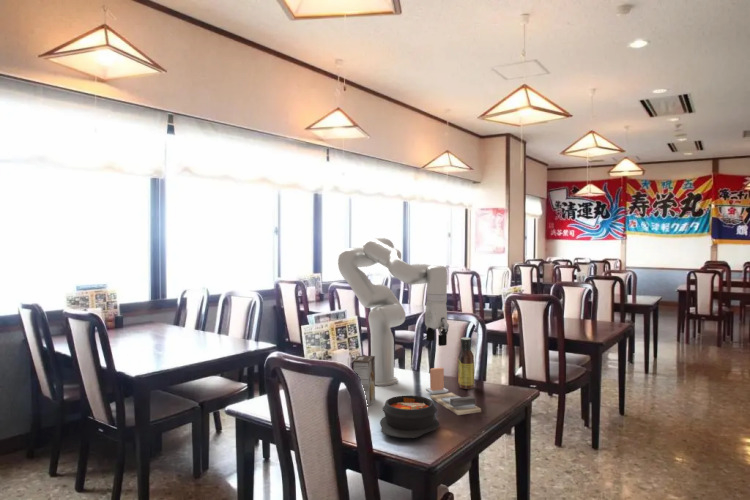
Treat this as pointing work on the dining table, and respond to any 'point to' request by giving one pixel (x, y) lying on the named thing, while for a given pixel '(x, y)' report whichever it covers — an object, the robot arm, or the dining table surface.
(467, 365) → the sauce bottle
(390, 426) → the casserole
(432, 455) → the dining table surface
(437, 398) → the ticket board
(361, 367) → the coffee box
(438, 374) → the tan and white stand
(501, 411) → the dining table surface
